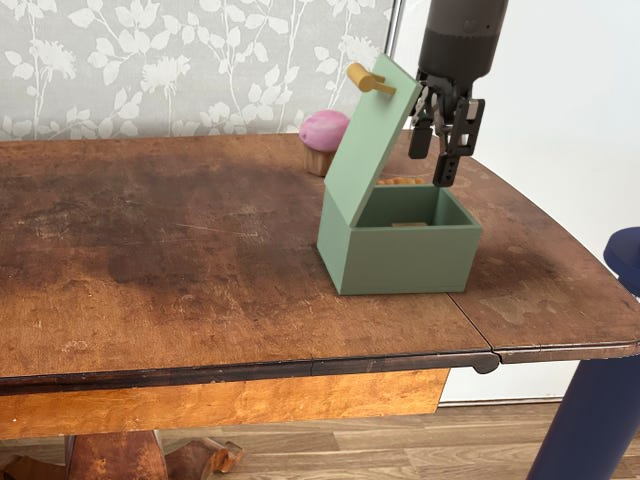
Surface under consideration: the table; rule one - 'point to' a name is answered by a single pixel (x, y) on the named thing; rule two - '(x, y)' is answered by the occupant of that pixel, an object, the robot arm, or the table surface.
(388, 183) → the pastry
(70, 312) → the table surface
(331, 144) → the cupcake
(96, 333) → the table surface
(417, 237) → the chest
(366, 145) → the lid
